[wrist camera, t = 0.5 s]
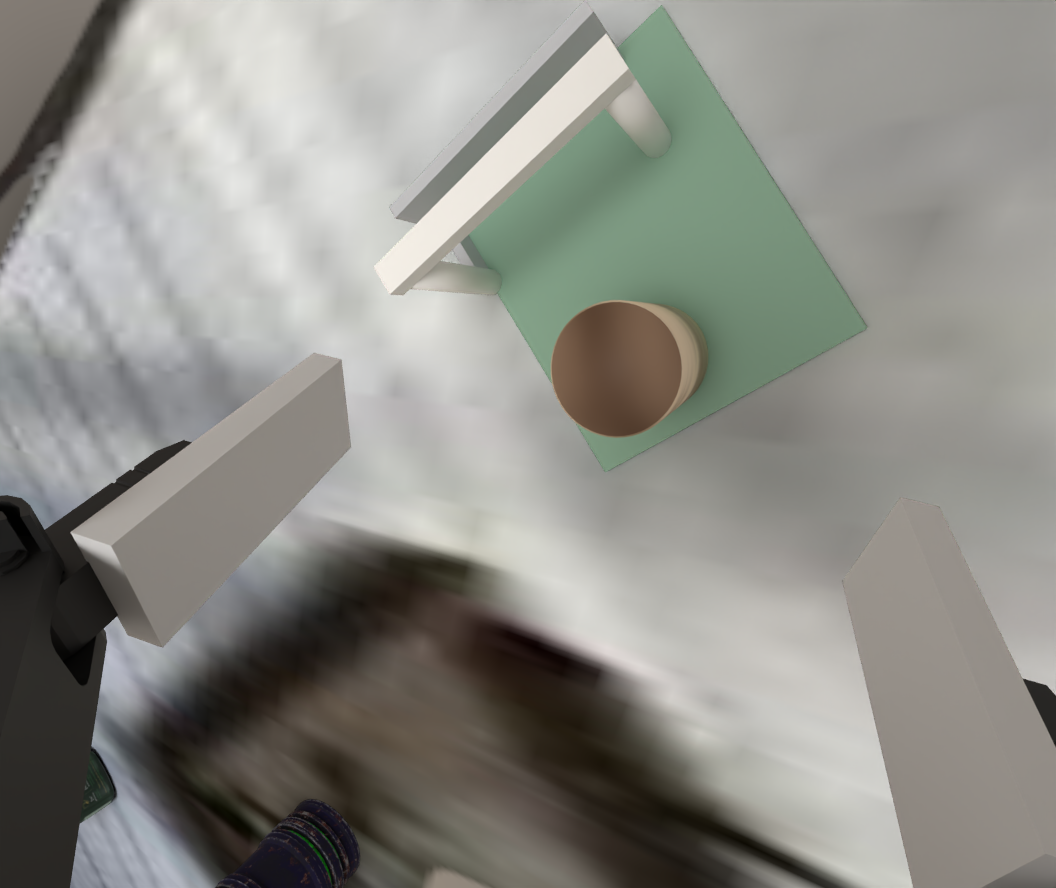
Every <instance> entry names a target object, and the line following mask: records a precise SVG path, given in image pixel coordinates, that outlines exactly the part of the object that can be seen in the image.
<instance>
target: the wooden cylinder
mask: <svg viewBox="0 0 1056 888" xmlns="http://www.w3.org/2000/svg"><path fill="white" fill-rule="evenodd" d="M707 366H708V347H707V343H706V340H705V337H704V334H703V332H702V331H701V329H700V327H699V326H698V324H697V323H696V322H695V321H694V320H693V319H692V318H691V317H690V316H689V315H687V314H686V313H685V312H683V311H681V310H680V309H677V308H675V307H672V306H669V305H664V304H654V303H645V302H635V301H625V300H609V301H603V302H599V303H596V304H593V305H591V306H589V307H587V308H585V309H583V310H582V311H580V312H579V313H578V314H576V315H575V316H574V317H573V318H572V319H571V320H570V321H569V322H568V323H567V324H566V325H565V327H564V328H563V330H562V331H561V333H560V335H559V336H558V338H557V340H556V343H555V346H554V349H553V353H552V358H551V379H552V385H553V389H554V392H555V394H556V397H557V399H558V401H559V403H560V405H561V406H562V408H563V409H564V411H565V412H566V413H567V414H568V416H569V417H570V418H571V419H572V420H573V421H575V422H576V423H577V424H578V425H580V426H581V427H583V428H584V429H586V430H588V431H590V432H592V433H595V434H598V435H601V436H605V437H613V438H621V437H629V436H634V435H637V434H640V433H643V432H645V431H647V430H649V429H651V428H652V427H654V426H655V425H657V424H658V423H659V422H660V421H662V420H663V419H664V418H665V417H667V416H668V415H669V414H670V413H672V412H673V411H674V410H675V409H677V408H678V407H679V406H680V405H682V404H683V403H684V402H685V401H687V400H688V399H689V398H690V397H691V396H692V395H693V394H694V393H695V392H696V391H697V389H698V388H699V386H700V385H701V383H702V381H703V379H704V377H705V374H706V371H707Z"/></svg>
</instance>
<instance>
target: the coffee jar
mask: <svg viewBox="0 0 1056 888" xmlns="http://www.w3.org/2000/svg"><path fill="white" fill-rule="evenodd" d="M113 797H114V789H113V786H112V784H111V781H110V778H109V776H108V775H107V773H106V770H105V768H104V767H103V765H102V764H101V762H100V760H99V759H98V757H97V756H96V754H95V753H94V752H92V751H90V757H89V764H88V770H87V777H86V784H85V790H84V797H83V803H82V810H81V817H80V823H81V822H83V821H85V820H86V819H88V818H89V817H91V816H92V815H94V814H96V813H97V812H99V811H100V810H102V809H103V808H104V807H106V806H107V805H109V804H110V803H111V802H112V800H113ZM80 823H79V824H80Z"/></svg>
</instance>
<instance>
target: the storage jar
mask: <svg viewBox="0 0 1056 888" xmlns="http://www.w3.org/2000/svg"><path fill="white" fill-rule="evenodd" d="M359 862H360V852H359V847H358V843H357V840H356V838H355V836H354V834H353V832H352V830H351V828H350V827H349V825H348V824H347V822H346V821H345V820H344V819H343V818H342V816H341V815H340V814H339V813H338V812H337V811H336V810H334V809H333V808H332V807H330V806H329V805H327V804H326V803H323V802H321V801H318V800H313V799H309V800H305V801H303V802H302V803H301V804H300V805H299V806H298V807H297V808H296V809H295V811H294V812H292V813H291V814H290V815H288V816H287V817H286V818H285V819H283V820H282V821H281V822H280V823H279V824H278V825H277V826H276V827H275V828H274V829H273V830H272V832H271V833H269V834H267V835H266V836H265V838H264V839H263V840H262V841H261V843H260V844H259V846H258V849H257V850H256V851H255V852H254V853H253V854H252V855H251V856H250V857H249V858H248V859H247V860H246V861H245V862H244V863H243V864H242V865H241V866H240V867H239V868H238V869H237V870H236V871H235V872H234V873H233V874H230V875H228V876H227V877H225V878H224V879H223V880H221V881H220V882H219V883H218V885H217V886H216V887H215V888H343V886H344V885H345V884H346V882H347V880H348V878H349V877H351V876H352V875H353V873H354V872H355V871H356V870H357V868H358V866H359Z"/></svg>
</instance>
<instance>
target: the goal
mask: <svg viewBox="0 0 1056 888" xmlns="http://www.w3.org/2000/svg"><path fill="white" fill-rule="evenodd" d="M624 61H625V60H624V58H623V56H622V55H621V53H620V52H619V50H618V49H617V47H616V45H615V44H614V42H613V41H612V39H611V38H610V36H609V35H608V33H607V31H606V30H605V28H604V27H603V25H602V24H601V22H600V21H599V19H598V17H597V16H596V14H595V13H594V11H593V10H592V8H591V7H590V5H589V3H588V2H587V0H584V1H583V2H582V3H581V4H580V5H579V6H578V7H577V8H576V9H575V10H574V11H573V13H572V14H571V15H570V16H569V17H568V18H567V19H566V20H565V21H564V22H563V23H562V24H561V25H560V26H559V27H558V28H557V30H556V31H555V32H554V33H553V34H552V35H551V36H550V37H549V38H548V39H547V40H546V41H545V42H544V43H543V44H542V45H541V47H540V48H539V49H538V50H537V51H536V52H535V53H534V54H533V55H532V56H531V57H530V58H529V59H528V60H527V61H526V62H525V64H524V65H523V66H522V67H521V68H520V69H519V70H518V71H517V72H516V73H515V74H514V75H513V76H512V77H511V78H510V80H509V81H508V82H507V83H506V84H505V85H504V86H503V87H502V88H501V89H500V90H499V91H498V92H497V93H496V94H495V95H494V97H493V98H492V99H491V100H490V101H489V102H488V103H487V104H486V105H485V106H484V107H483V108H482V109H481V110H480V111H479V112H478V114H477V115H476V116H475V117H474V118H473V119H472V120H471V121H470V122H469V123H468V124H467V125H466V126H465V127H464V128H463V129H462V131H461V132H460V133H459V134H458V135H457V136H456V137H455V138H454V139H453V140H452V141H451V142H450V143H449V144H448V145H447V146H446V148H445V149H444V150H443V151H442V152H441V153H440V154H439V155H438V156H437V157H436V158H435V159H434V160H433V161H432V162H431V163H430V165H429V166H428V167H427V168H426V169H425V170H424V171H423V172H422V173H421V174H420V175H419V176H418V177H417V178H416V179H415V180H414V182H413V183H412V184H411V185H410V186H409V187H408V188H407V189H406V190H405V191H404V192H403V193H402V194H401V195H400V196H399V197H398V199H397V200H396V201H395V202H394V203H393V204H392V205H391V206H390V207H389V209H390V211H391V212H392V214H393V216H394V217H395V218H396V219H400V220H404V221H408V222H412V223H416V225H415V226H414V227H413V228H412V229H411V230H410V231H409V232H408V233H407V234H406V235H405V236H404V237H403V238H402V239H401V240H400V241H399V242H398V243H397V244H396V245H395V246H394V247H393V248H392V249H391V250H390V251H389V252H388V253H387V254H386V255H385V256H384V257H383V258H382V259H381V260H380V261H379V262H378V263H377V264H376V265H375V266H374V269H375V271H376V272H377V274H378V276H379V277H380V279H381V281H382V282H383V284H384V286H385V287H386V289H387V291H388V292H389V294H390V295H404V294H405V293H406V292H407V291H408V290H409V289H415V290H428V291H441V292H455V293H468V294H481V295H494V294H496V293H497V292H498V291H499V290H500V288H501V285H502V279H501V276H500V274H499V273H498V272H497V271H495V270H493V269H488V267H487V265H486V264H485V262H484V260H483V259H482V257H481V255H480V254H479V252H478V250H477V249H476V247H475V245H474V244H473V242H472V240H471V239H470V237H469V234H470V233H471V232H472V231H473V230H474V229H475V228H476V227H477V226H478V225H479V224H481V223H482V222H483V221H484V220H485V219H486V218H487V217H488V216H489V215H490V214H491V213H492V212H493V211H495V210H496V209H497V208H498V207H499V206H500V205H501V204H502V203H503V202H504V201H505V200H506V199H507V198H509V197H510V196H511V195H512V194H513V193H514V192H515V191H516V190H517V189H518V188H519V187H520V186H521V185H523V184H524V183H525V182H526V181H527V180H528V179H529V178H530V177H531V176H532V175H533V174H534V173H535V172H537V171H538V170H539V169H540V168H541V167H542V166H543V165H544V164H545V163H546V162H547V161H548V160H550V159H551V158H552V157H553V156H554V155H555V154H556V153H557V152H558V151H559V150H560V149H561V148H562V147H564V146H565V145H566V144H567V143H568V142H569V141H570V140H571V139H572V138H573V137H574V136H575V135H576V134H578V133H579V132H580V131H581V130H582V129H583V128H584V127H585V126H586V125H587V124H588V123H589V122H590V121H592V120H593V119H594V118H595V117H596V116H597V115H598V114H599V113H600V112H601V111H602V110H603V109H604V108H605V109H606V111H607V112H608V113H609V114H610V115H611V116H612V117H613V118H614V120H615V121H616V122H617V123H618V124H619V125H620V126H621V127H622V129H623V130H624V131H625V132H626V133H627V134H628V135H629V136H630V138H631V139H632V140H633V141H634V142H635V143H636V144H637V145H638V147H639V148H640V149H641V150H642V151H643V152H644V153H645V154H646V155H647V156H648V157H651V158H658V157H660V156H662V155H664V154H665V153H666V152H667V151H668V149H669V147H670V145H671V140H672V138H671V133H670V131H669V129H668V128H667V126H666V125H665V123H664V122H663V120H662V119H661V117H660V116H659V114H658V112H657V111H656V109H655V108H654V106H653V105H652V103H651V102H650V100H649V99H648V97H647V96H646V94H645V92H644V91H643V89H642V88H641V86H640V85H639V83H638V82H637V80H636V79H635V77H634V76H633V74H632V72H631V71H630V69H629V68H628V66H627V65H626V63H625V62H624ZM451 250H453V252H454V254H455V255H456V257H457V259H458V260H459V262H460V264H456V263H450V262H443V261H441V260H442V259H443V258H444V257H445V256H446V255H447V254H448V253H449V252H450V251H451Z"/></svg>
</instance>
